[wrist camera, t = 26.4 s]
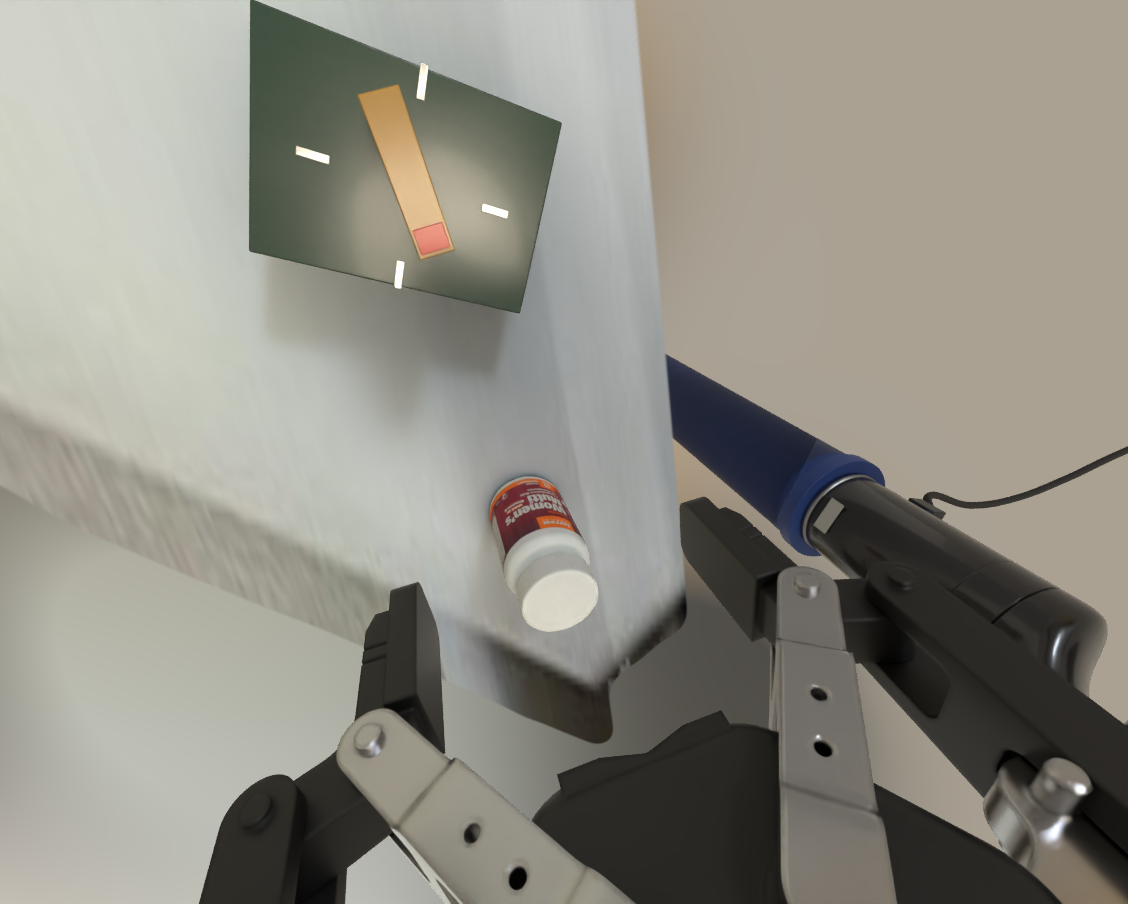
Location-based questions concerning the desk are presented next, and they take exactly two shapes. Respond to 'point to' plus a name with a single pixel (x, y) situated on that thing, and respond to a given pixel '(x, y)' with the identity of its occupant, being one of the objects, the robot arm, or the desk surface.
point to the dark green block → (358, 177)
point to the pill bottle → (542, 554)
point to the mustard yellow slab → (406, 170)
